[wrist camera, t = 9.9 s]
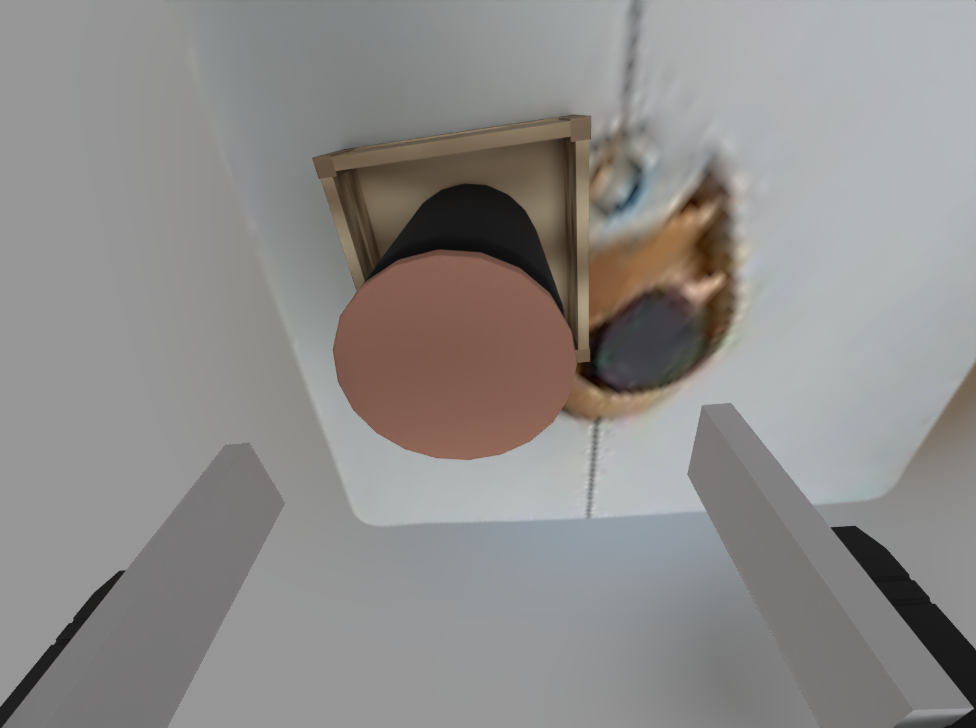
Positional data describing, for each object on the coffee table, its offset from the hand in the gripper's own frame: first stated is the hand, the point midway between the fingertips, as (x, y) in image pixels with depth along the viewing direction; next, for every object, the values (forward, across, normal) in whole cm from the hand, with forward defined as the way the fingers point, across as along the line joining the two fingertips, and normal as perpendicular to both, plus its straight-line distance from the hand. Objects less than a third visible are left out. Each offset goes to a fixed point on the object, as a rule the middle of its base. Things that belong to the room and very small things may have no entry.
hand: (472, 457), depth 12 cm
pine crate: (+25, -1, -1) cm, 25 cm away
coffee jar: (+24, -1, -1) cm, 24 cm away
